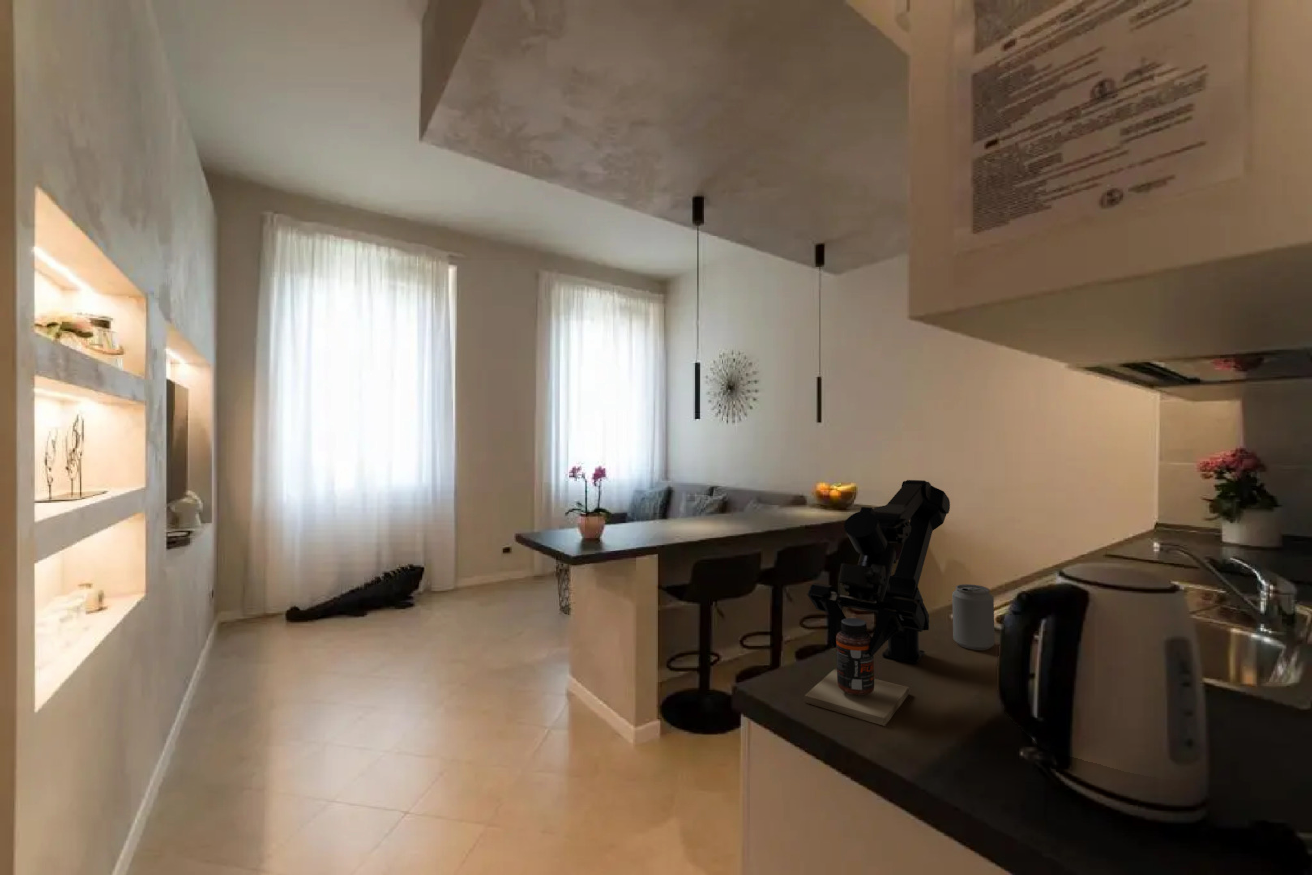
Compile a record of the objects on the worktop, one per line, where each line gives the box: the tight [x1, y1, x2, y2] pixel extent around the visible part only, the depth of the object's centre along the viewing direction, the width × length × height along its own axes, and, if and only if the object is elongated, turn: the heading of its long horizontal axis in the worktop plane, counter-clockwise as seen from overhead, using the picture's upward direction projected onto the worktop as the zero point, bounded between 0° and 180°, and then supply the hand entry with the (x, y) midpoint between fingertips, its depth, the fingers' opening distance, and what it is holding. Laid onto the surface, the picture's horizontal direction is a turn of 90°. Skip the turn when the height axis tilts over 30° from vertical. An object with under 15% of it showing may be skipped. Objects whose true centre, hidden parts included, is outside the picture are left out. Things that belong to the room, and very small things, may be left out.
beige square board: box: [804, 668, 910, 727], centre depth 96 cm, size 13×13×1 cm
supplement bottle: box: [835, 617, 875, 695], centre depth 95 cm, size 6×6×11 cm
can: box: [951, 583, 996, 651], centre depth 117 cm, size 8×8×12 cm
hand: (851, 650), depth 94 cm, fingers closed on supplement bottle, 6 cm apart
